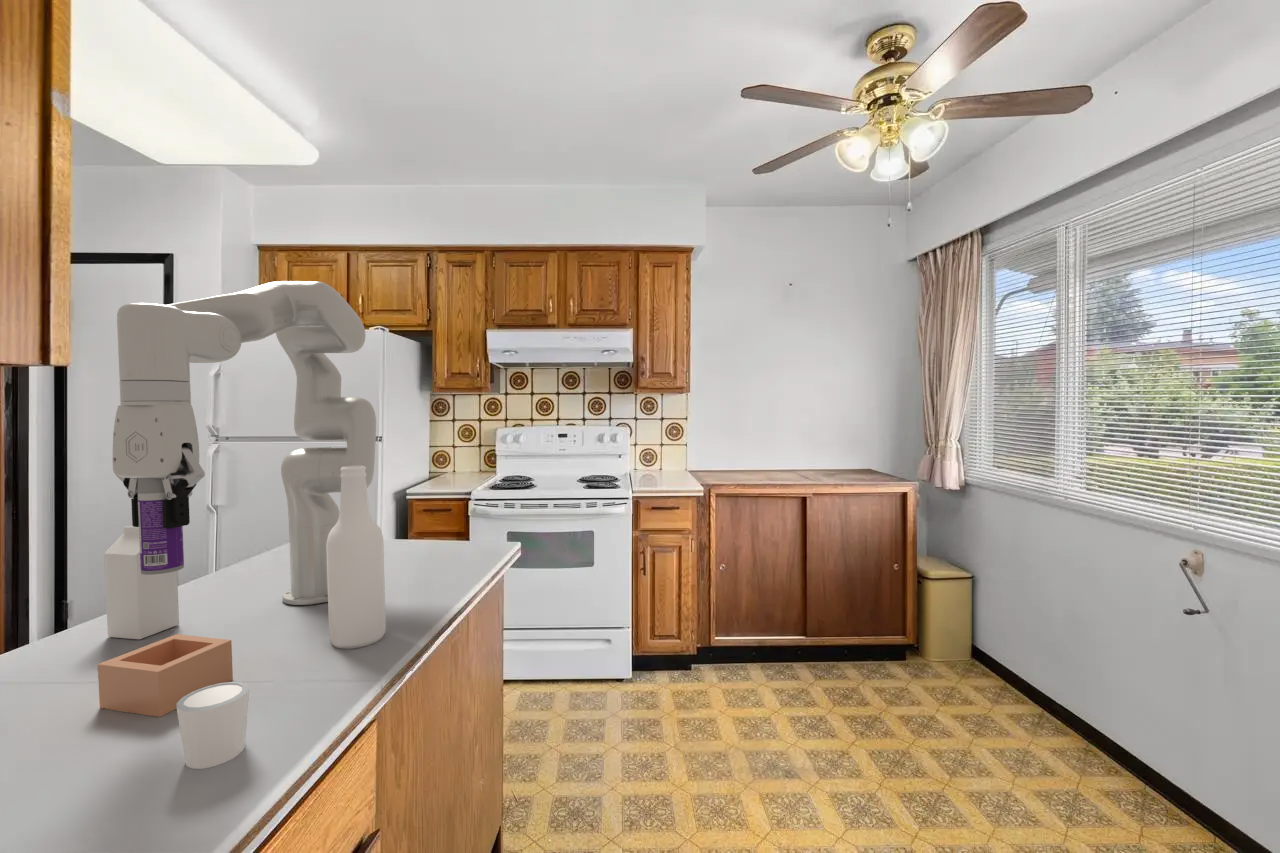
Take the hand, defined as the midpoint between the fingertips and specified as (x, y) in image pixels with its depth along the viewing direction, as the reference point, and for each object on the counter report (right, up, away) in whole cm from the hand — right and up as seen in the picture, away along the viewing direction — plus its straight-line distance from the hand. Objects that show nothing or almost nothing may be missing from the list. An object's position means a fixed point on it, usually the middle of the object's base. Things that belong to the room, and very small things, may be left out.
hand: (161, 524), depth 81 cm
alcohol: (+18, -23, +19) cm, 35 cm away
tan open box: (0, -24, +1) cm, 24 cm away
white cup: (+17, -25, -13) cm, 33 cm away
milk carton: (-23, -24, +24) cm, 41 cm away
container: (0, -7, 0) cm, 7 cm away
